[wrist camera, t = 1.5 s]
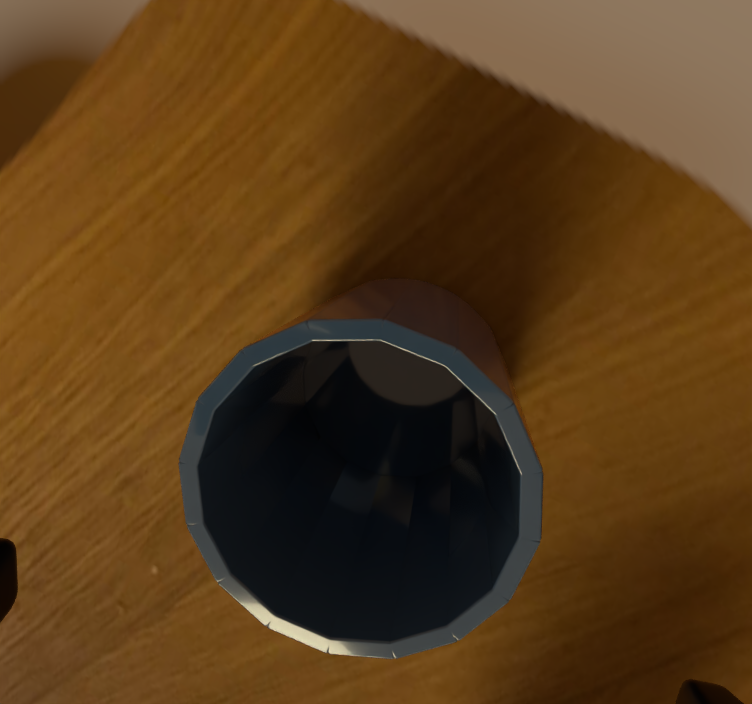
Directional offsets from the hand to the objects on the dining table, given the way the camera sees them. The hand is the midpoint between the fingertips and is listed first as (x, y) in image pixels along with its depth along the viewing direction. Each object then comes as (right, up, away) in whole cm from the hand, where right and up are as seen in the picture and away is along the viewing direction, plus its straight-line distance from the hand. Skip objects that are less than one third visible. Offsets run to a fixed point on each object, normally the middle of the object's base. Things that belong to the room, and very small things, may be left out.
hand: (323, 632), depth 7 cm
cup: (+1, +3, +11) cm, 11 cm away
